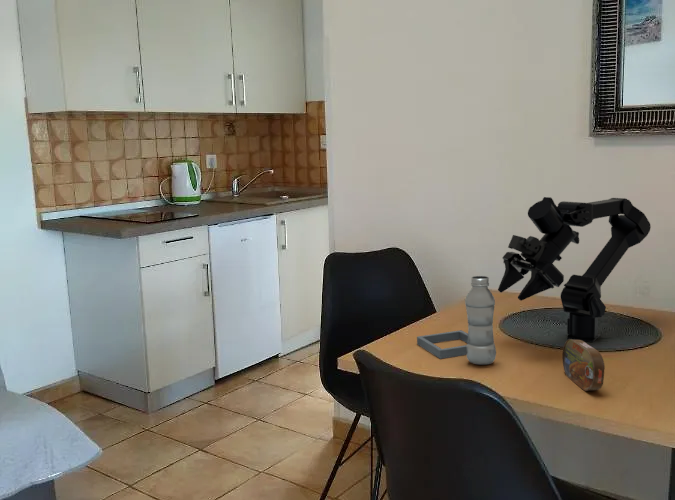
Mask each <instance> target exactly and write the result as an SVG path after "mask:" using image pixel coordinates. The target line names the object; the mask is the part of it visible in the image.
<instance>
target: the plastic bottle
mask: <svg viewBox="0 0 675 500" xmlns="http://www.w3.org/2000/svg"><path fill="white" fill-rule="evenodd" d="M489 279H490V278H489V276H485V275H475V276H472V277H471V282H470V286H471V287H472V288H471V289H470V290H469V291H468V293H467V295H466V296H465V299H464V304H465V310H466V315H467V328H468V330H467V333H468V343H466V345H467V347H466V355H465V356H466V359H467V360H468V362H469V363H470V364H474V365H478V366H482V365H483V366H484V365H486V366H487V365H491V364H493V363H494V361H495V360H496V356H497V350H496V344H495V339H494V326H493V324H494V313H495V312H494V311H495V306H496V305H495V304H496V299H495V297H494V295H493V293H492V291H491V290H490V288H488V287H489V286H490V283H489Z"/></svg>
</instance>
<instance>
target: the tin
mask: <svg viewBox="0 0 675 500" xmlns="http://www.w3.org/2000/svg"><path fill="white" fill-rule="evenodd" d="M561 354H562V357H561V358H562V359H561V360H562V367H563V371H564V373H565V376H566V377H567V378H568V379H569V380H571V381H572V382H573V383H574V384H576V386H578V387H579V388H580V389H581V390H583V391H586V392H587V391H599V390H600V389H601V388H602V386H603V385H604V379H605V370H606V369H605V368H606V366H605V361H604V358H603V356H602V354H601V353H600V351H599V350H597V349H596V348H595V347H593V346H591V345H590V344H588V343H587V342H586V341H582V340H574V339H568V338H567V340H565V342H564V345H563V348H562V353H561Z"/></svg>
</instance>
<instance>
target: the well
mask: <svg viewBox="0 0 675 500" xmlns="http://www.w3.org/2000/svg"><path fill="white" fill-rule="evenodd" d="M456 340H461V341H462V342H464V343H466V344H465V345H459V346H453V347H445V348H441V347H439V346H437V345H436V343H437V344H438V343H444V342H445V343H446V342H450V341H456ZM467 343H468V332H466V331H464V330H462V329H461V330H454V331H447V332H439V333H433V334H425V335H418V336H416V344H417V346H419V347H421V348H423V350H425V351H427V352H429V353H430V354H432V355H433V356H434V357H436V358H437V359H440V360H442V359H449V358H455V357H461V356H467V355H466V347H467Z"/></svg>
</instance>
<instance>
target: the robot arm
mask: <svg viewBox="0 0 675 500" xmlns="http://www.w3.org/2000/svg"><path fill="white" fill-rule="evenodd" d="M527 217H528V218H529V219H530V221H531V222H532V223H533V224H534V226H535V227H536V228H537V230H539V232H540V233H541V234H543V236H542V237H541V238H540V239H539V238H537V237H535V236H532V235H530V236H528V237H527V238H526V237H522V236H519V235H516V234H513V235H512V237H511V238H510V239H511V240H510V241H509V244H508V247H507V248H509V249H511V250H515V251H517V252H514V251H507V252H506V253H504V254H503V256H502V260H503V265H504V268H505V271H504V273H503V276H502V278H501V280H500V283H499V285H498V288H497V291H498V292H499V293H503V292H505V291H506V290H509V288H511V287H513V286H514V285H515V284H517V283H518V282H520V281H521V280H523V279H524V278H525V275H527V274H528V273H529V272H530V278H529V280H528V281H527V283H526V284H525V285H524V287H523V289H521V291H520V293H519V294H518V296H517V299H518V300H519V301H521V302H522V301H524V300H527V299H529V298H530V297H533V296H536V295H538V294H540V293H542V292H545V291H547V290H550V289H554V288H555V287H557V288H560V286H561V285H562V284H563V286H564V287H563V288H562V290H561V292H560V301H561V305H562V309H563V312H565V313H568V314H569V317H568V318H567V319H566V334H567V336H566V339H567V340H568V339H572V340H582V341H584V342H590V343H594V342H595V341H596V340H597V339H598V338H599V337H601V333H599V318H602V317H603V316H604V315H605V313H606V309H607V307H606V305H605V304H604V302H603V301H602V299H601V297H602V291H601V290H602V289H601V287H602V285H603V284H604V282H605V281H606V280H607V279H608V277H609V276H610V274H611V273H612V272H613V270H614V269H615V267H616V266H617V265H618V263H619V262H620V261H621V259H622V258H623V256H624V255H625V253H626V252H627V251H628V250H629V249H630V248H632V247H634V246H636V245H638V244H640V243H641V242H642V241H644V239H645V238H647V236H648V234H650V231H651V227H652V226H651V222H650V221H649V219H648V218H647V216H646V215H645V213H644V212H643V211H642V210H640V209H638V208H637V207H636V206H634V205H633V203H632V202H631V200H630V199H627V198H625V197H624V198H623V197H622V198H621V197H611V198H608V199H603V200H596V201H591V202H578V201H565V200H564V201H560V202H558V204H557V205H556V203H555V201H554V199H553V198H552V197H549V196H548V197H545V196H543V198H542V200H539V201H537V202H535V203H534V204H533V205H532V206H530V207H529V208H528V210H527ZM607 217H608V223H609V224H610V233H611V237H610V238H609V240H608V241H607V243H605V245H604V246H603V248H602V249H601V250H600V252H599V253H598V254H597V256H596V257H595V259H594V260H593V261H592V262H591V264H589V266H588V268H587V269H586V270H585V272H584V273H583V274H582V275H579V274H572V275H571V276H570V277H569V279H568V280H567V282H566V283H564V281H565V275H564V274H563V273H562V272H561V271H560V270H559V269H558V268H557V267H556V265H555V264H554V263H555V261H558V262H560V261H561V260H562V259H563V257H562V256H561V254H562V253H563V252H564V251H565V249H566V248H567V247H568V246H569V245H570V244H571V243H573V244H576V245H579V243H580V237H579V235H580V233H579V231H575V230H573V228H572V227H586V226H588V225H590V224H592V223H593V221H594V220H596V219H601V218H607ZM519 252H520V253H519Z"/></svg>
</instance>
